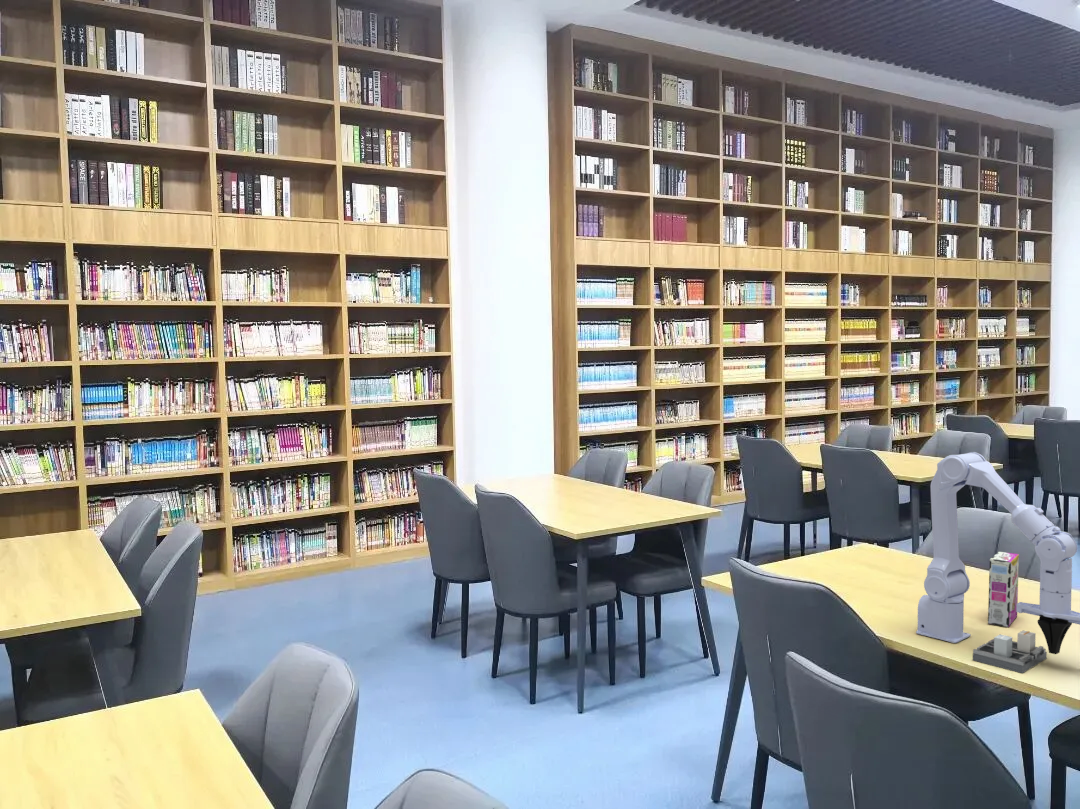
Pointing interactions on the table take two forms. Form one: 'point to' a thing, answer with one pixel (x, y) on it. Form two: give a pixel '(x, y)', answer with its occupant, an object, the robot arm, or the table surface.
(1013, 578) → the candy bar box
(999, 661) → the grey divided tray
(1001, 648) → the block
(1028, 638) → the fader
